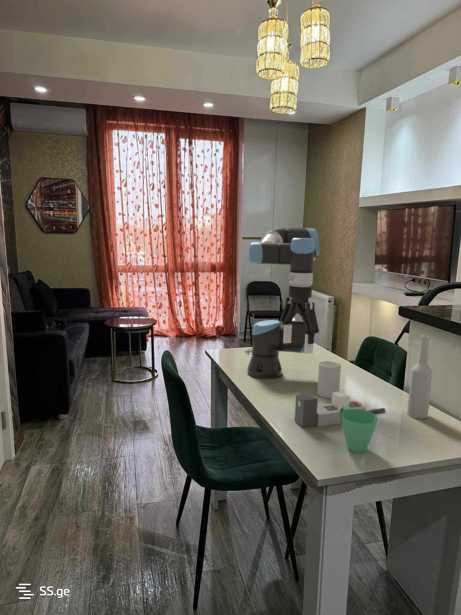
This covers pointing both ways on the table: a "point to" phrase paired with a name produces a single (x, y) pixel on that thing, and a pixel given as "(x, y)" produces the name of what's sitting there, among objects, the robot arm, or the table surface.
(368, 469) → the table surface
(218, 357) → the table surface
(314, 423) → the grey rectangular block
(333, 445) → the table surface
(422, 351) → the bottle
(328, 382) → the pale pink cylinder
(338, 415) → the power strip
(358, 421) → the mug
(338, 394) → the block
